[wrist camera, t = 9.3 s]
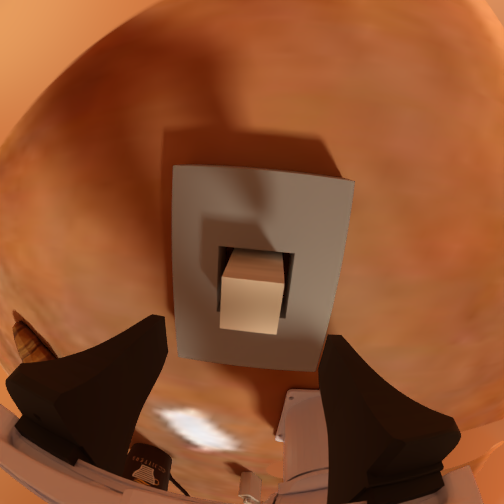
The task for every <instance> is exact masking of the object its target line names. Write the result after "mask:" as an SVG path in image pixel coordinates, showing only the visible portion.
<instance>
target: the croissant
mask: <svg viewBox="0 0 504 504" xmlns="http://www.w3.org/2000/svg"><path fill="white" fill-rule="evenodd" d="M13 334H14V340H15V343H16V346H17V349H18V352H19V355H20V357H21V359H22V362H23V363H31V362H41V361H48V360H53V359H57V358H56V357H55V356H54V355H53V354H52V353H51V352H50V351H49V350H48V349H47V348H46V347H45V346H44V345H43V344H42V343H41V341H40V340H39V339H38V337H37V336H36V335H35V334H34V333H33V332H32V331H31V330H30V328H29V327H27V326H26V325H25V324H24V323H23V322H22V321H20V322H17V323H15V325H14V326H13Z"/></svg>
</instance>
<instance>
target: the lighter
mask: <svg viewBox="0 0 504 504" xmlns="http://www.w3.org/2000/svg"><path fill="white" fill-rule="evenodd" d="M261 484H262V480H261V479H260V478H259V477H257V476H256V475H255V474H254V473H253V472H251V471H250V472H242V473H241V479H240V487H239V495H238V496H240V497H241V498H243V499H244V501H243V503H244V504H264V502H263V501H261V502H260V496H261Z"/></svg>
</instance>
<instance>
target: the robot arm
mask: <svg viewBox="0 0 504 504" xmlns="http://www.w3.org/2000/svg"><path fill="white" fill-rule="evenodd" d="M167 354H168V346H167V337H166V327H165V317H164V316H159V315H153V314H152V315H150V316H148V317H147V318H145V319H143V320H142V321H140V322H138V323H137V324H135V325H134V326H132V327H130V328H129V329H127V330H125V331H124V332H122V333H120V334H118V335H117V336H115V337H113V338H111V339H109V340H107V341H105V342H103V343H101V344H99V345H97V346H95V347H92V348H90V349H87V350H85V351H82V352H79V353H76V354H73V355H69V356H66V357H62V358H58V359H53V360H48V361H41V362H31V363H21V364H20V365H19V366H18V367H17V368H16V369H15V371H14V372H13V373H12V374H11V375H10V376H9V377H8V378H7V379H6V387H7V390H8V392H9V394H10V396H11V398H12V399H13V401H14V402H15V404H16V406H17V407H18V409H19V410H20V411H21V413H22V416H21V418H20V419H19V418H18V417H17V416H16V415H14V414H13V413H12V412H11V411H9V410H8V409H7V408H5V407H4V406H3V405H1V404H0V467H1V468H2V469H3V470H4V471H6V472H7V473H8V474H9V475H11V476H12V477H13V478H14V479H15V480H17V481H18V482H19V483H21V484H22V485H23V486H25V487H26V488H27V489H29V490H30V491H31V492H33V493H34V494H36V495H37V496H38V497H40V498H41V499H43V500H44V501H46V502H48V503H49V504H230V503H223V502H216V501H210V500H204V499H198V498H193V497H189V496H184V495H180V494H175V493H171V492H167V491H164V490H160V489H156V488H153V487H150V486H146V485H143V484H140V483H137V482H134V481H131V480H128V479H125V478H123V477H122V475H123V470H124V466H125V461H126V457H127V453H128V449H129V445H130V442H131V439H132V435H133V432H134V429H135V426H136V423H137V420H138V418H139V415H140V412H141V410H142V407H143V405H144V403H145V401H146V399H147V397H148V395H149V394H150V392H151V390H152V388H153V386H154V384H155V382H156V380H157V378H158V376H159V374H160V372H161V370H162V368H163V365H164V363H165V360H166V357H167ZM318 373H319V389H320V390H304V389H290V390H288V391H287V394H286V398H285V402H284V406H283V410H282V414H281V418H280V422H279V425H278V429H277V433H276V436H275V440H276V441H279V442H284V468H283V471H284V472H283V479H284V483H279V484H278V493H273V494H271V495H270V496H269V498H268V499H267V500H266V502H265V503H264V504H483V501H482V499H481V495H480V492H479V489H478V487H477V484H476V481H475V478H474V476H473V473H472V471H471V468H470V466H469V465H467V466H465V467H462V468H460V469H457V470H455V471H452V472H449V473H447V474H446V475H444V476H442V475H441V472H440V471H441V470H443V467H444V466H443V464H442V460H443V459H444V458H445V457H446V456H447V455H448V454H449V453H450V452H451V451H452V450H453V449H454V448H455V447H456V445H457V444H458V442H459V440H460V438H461V433H460V431H459V429H458V427H457V425H456V423H455V421H454V419H453V418H452V417H450V416H447V415H444V414H441V413H439V412H436V411H434V410H431V409H429V408H427V407H425V406H423V405H421V404H419V403H417V402H415V401H414V400H412V399H410V398H409V397H407V396H406V395H404V394H402V393H401V392H399V391H398V390H397V389H395V388H394V387H393V386H391V385H390V384H389V383H388V382H386V381H385V380H384V379H383V378H382V377H380V376H379V375H378V374H377V373H376V372H375V371H374V370H373V369H372V368H371V367H370V366H369V365H368V364H367V363H366V362H365V361H364V360H363V359H362V358H361V357H360V356H359V355H358V353H357V352H356V351H355V350H354V349H353V348H352V347H351V345H350V344H349V343H348V342H347V341H346V340H345V339H344V338H343V336H342V335H329V334H328V336H327V340H326V343H325V347H324V351H323V354H322V358H321V361H320V365H319V368H318Z"/></svg>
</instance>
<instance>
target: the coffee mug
mask: <svg viewBox="0 0 504 504" xmlns="http://www.w3.org/2000/svg"><path fill="white" fill-rule="evenodd" d="M171 464H172V459H171V457H170V456H169V455H168V454H166V453H165V452H163V451H161V450H160V449H158V448H155V447H153V446H150V445H146V444H141V443H137V444H134V445H133V447H132V448H131V450H130V452H129V453H128V455H127V457H126V461H125V466H124V470H123V475H122V477H123V478H125V479H128V480H131V481H134V482H137V483H140V484H143V485H146V486H150V487H153V488H156V489H160V490H164V491H167V490H168V483H169V480H170V481H171V482H173V484H174V485H175V486H177V487H178V488H179V489H180V490H181V491H182V492H183V493H184V494H185V495H186V496H189V494H188V493H187V492H186V491H185V490H184V489H183V488H182V487H181V486H180V485H179V484H178V483H177V482H176V481H175V480H174V479H173V478H172V476H171V474H170V470H171ZM189 497H190V496H189Z"/></svg>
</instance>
